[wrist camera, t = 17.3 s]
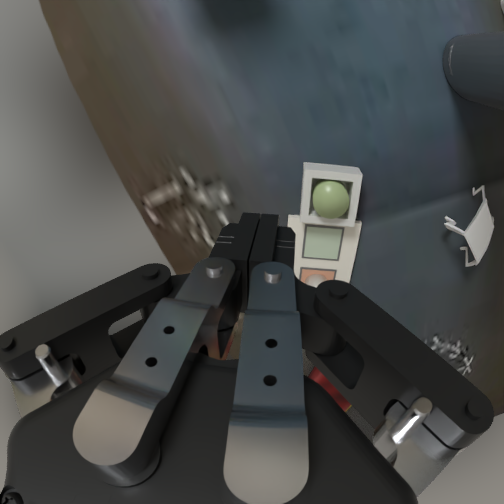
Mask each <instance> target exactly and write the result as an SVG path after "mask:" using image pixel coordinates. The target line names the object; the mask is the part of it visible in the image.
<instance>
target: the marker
mask: <svg viewBox="0 0 504 504" xmlns="http://www.w3.org/2000/svg"><path fill="white" fill-rule="evenodd" d="M324 281H327V279H326V277H324V276H323V275H320V274H312V275H310V276H308V277H307V278H306V280H305V282H304V283H305V284H307V285H310V286H313V287H316V288H317V286H318V285H319V284H320V283H322V282H324Z"/></svg>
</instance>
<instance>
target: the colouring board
mask: <svg viewBox="0 0 504 504" xmlns="http://www.w3.org/2000/svg"><path fill="white" fill-rule="evenodd" d="M361 225H362V223H361V221H355V225H354V227H348V226H338V225H326V224H315V223H303V222H300V215H289V216H288V227H291V228H292V230H293V231H294V232H295V234H296V238H295V259H294V273H295V275H296V277H297V278H298V279H299V280H300V281H302V282H303V283H304V282H305V280H306V278H307V277H308V276H310V275H312V274H320V275H323V276H324V277H326V279H327V280H341V281H345V282H347V283H349V281H350V277H351V273H352V268H353V264H354V259H355V255H356V250H357V245H358V240H359V235H360V230H361Z"/></svg>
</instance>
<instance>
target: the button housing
mask: <svg viewBox="0 0 504 504" xmlns="http://www.w3.org/2000/svg"><path fill="white" fill-rule="evenodd" d="M319 179H331V180H340V181H342V182H343V184H344V186H345V188H346V191H347V193H348V196H349V207H348V209H347V211H346V212H345V213H344V214H343V215H342V216H340V217H338V218H334V219H328V218H324V217H322V216H320V215H319V214H318V213H317V212H316V211H315V209H314V206H313V197H312V189H313V186H314V185H315V183H316V182H317V181H318V180H319ZM361 182H362V173H361V172H360V170H359V168H358V167H349V166H340V165H330V164H320V163H308V162H304V166H303V180H302V193H301V206H300V222H303V223H315V224H326V225H338V226H348V227H354V225H355V219H356V213H357V208H358V201H359V195H360V189H361Z"/></svg>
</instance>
